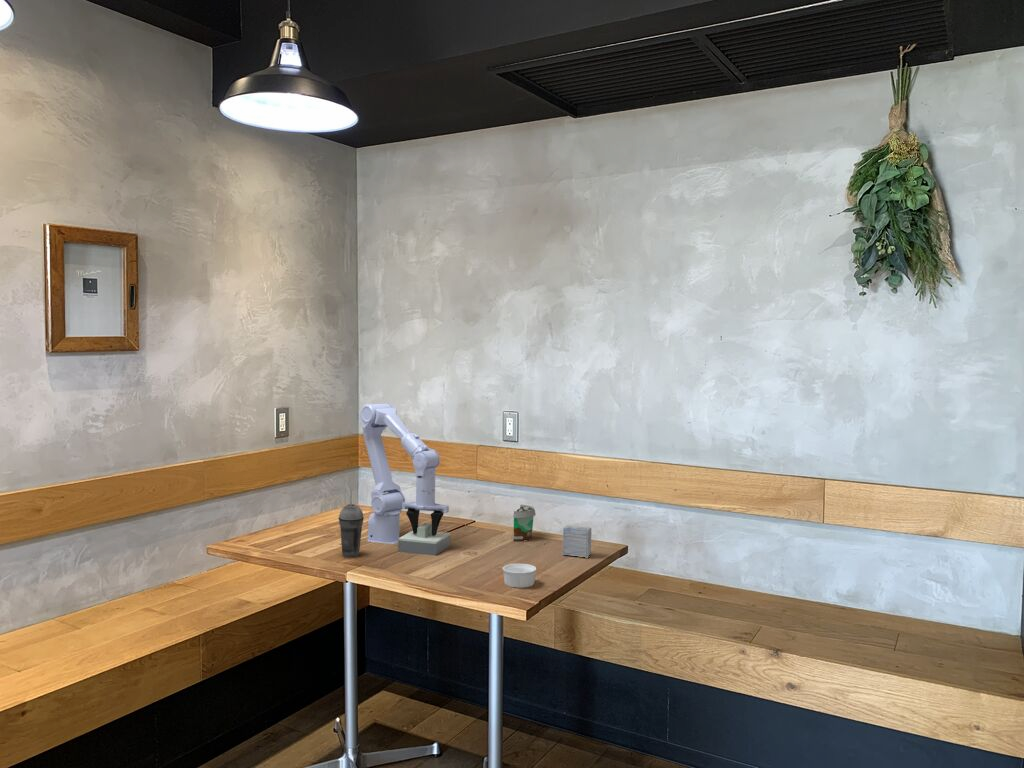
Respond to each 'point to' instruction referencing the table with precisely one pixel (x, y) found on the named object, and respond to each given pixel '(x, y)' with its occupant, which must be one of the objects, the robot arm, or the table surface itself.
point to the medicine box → (577, 541)
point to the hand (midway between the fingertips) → (424, 534)
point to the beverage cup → (351, 529)
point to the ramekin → (519, 575)
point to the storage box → (423, 547)
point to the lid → (424, 535)
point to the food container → (523, 523)
